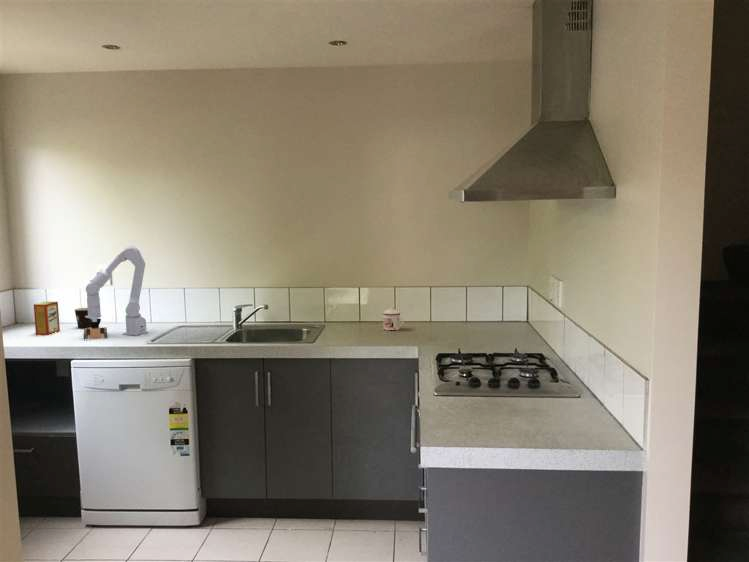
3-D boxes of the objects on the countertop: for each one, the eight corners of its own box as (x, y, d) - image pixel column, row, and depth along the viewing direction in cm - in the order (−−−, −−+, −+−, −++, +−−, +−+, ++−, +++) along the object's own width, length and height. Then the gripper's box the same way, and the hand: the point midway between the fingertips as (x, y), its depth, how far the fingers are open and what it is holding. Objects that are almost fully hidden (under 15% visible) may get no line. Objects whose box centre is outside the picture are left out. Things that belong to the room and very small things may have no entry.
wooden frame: (84, 334, 304) (84, 329, 303) (107, 333, 308) (106, 327, 308) (83, 340, 292) (83, 334, 291) (107, 338, 296) (107, 332, 295)
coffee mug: (76, 326, 325) (74, 308, 324) (93, 325, 329) (92, 307, 327) (75, 330, 315) (74, 311, 313) (93, 329, 318) (92, 310, 317)
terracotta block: (90, 337, 298) (90, 328, 298) (100, 336, 300) (100, 327, 300) (90, 338, 294) (90, 330, 294) (100, 338, 296) (100, 329, 296)
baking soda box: (47, 335, 304) (45, 303, 302) (35, 335, 305) (33, 303, 303) (59, 331, 313) (57, 300, 311) (48, 331, 314) (45, 300, 312)
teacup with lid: (379, 329, 311) (379, 307, 309) (389, 327, 318) (389, 305, 316) (398, 332, 303) (398, 309, 302) (408, 329, 310) (408, 307, 309)
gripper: (85, 305, 304) (87, 331, 305) (84, 309, 291) (86, 337, 292) (100, 304, 307) (102, 330, 308) (100, 308, 293) (102, 335, 295)
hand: (95, 333), depth 300 cm, fingers closed
